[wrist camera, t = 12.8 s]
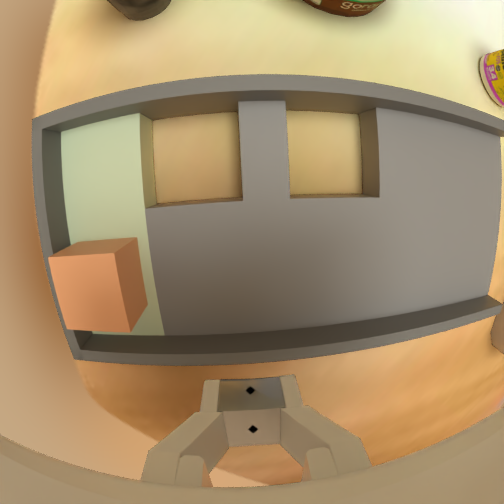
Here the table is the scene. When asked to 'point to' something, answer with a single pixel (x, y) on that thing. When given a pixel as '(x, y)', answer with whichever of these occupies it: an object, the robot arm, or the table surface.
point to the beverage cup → (140, 8)
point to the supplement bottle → (493, 75)
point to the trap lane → (279, 222)
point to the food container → (345, 6)
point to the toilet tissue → (498, 331)
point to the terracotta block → (100, 284)
